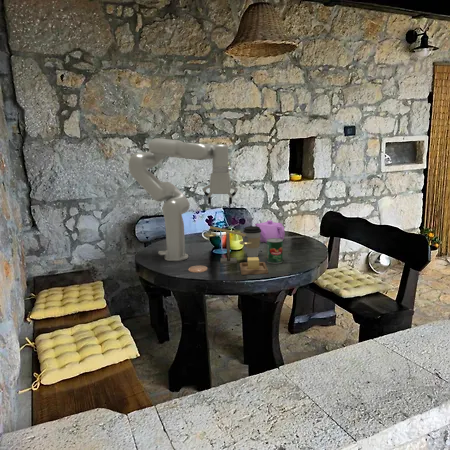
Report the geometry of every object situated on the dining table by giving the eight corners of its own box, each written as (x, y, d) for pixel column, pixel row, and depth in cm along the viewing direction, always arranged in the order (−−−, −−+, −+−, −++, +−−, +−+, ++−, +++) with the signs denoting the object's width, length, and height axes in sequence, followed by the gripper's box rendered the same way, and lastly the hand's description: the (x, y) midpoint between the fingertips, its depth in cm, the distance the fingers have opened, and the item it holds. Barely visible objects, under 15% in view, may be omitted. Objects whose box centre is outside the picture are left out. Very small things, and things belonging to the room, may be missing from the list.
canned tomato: (274, 264, 196) (274, 242, 194) (263, 261, 202) (263, 239, 200) (286, 261, 201) (286, 240, 198) (275, 258, 207) (275, 237, 205)
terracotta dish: (187, 272, 187) (187, 271, 187) (188, 267, 196) (188, 265, 196) (207, 272, 188) (207, 270, 187) (207, 266, 196) (207, 265, 196)
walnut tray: (241, 274, 182) (241, 270, 182) (239, 266, 194) (239, 262, 194) (267, 273, 183) (267, 269, 182) (264, 265, 195) (264, 261, 194)
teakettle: (285, 243, 236) (285, 222, 234) (256, 244, 237) (256, 223, 234) (282, 237, 253) (282, 217, 251) (255, 237, 253) (254, 218, 251)
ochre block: (247, 267, 191) (247, 257, 190) (258, 267, 191) (258, 257, 190) (248, 270, 186) (248, 260, 185) (259, 270, 186) (259, 260, 185)
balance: (205, 264, 200) (203, 227, 196) (205, 260, 206) (204, 225, 202) (252, 262, 200) (251, 226, 197) (251, 259, 206) (250, 223, 203)
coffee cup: (260, 258, 208) (260, 229, 205) (242, 257, 209) (241, 229, 207) (262, 253, 217) (262, 225, 214) (245, 252, 219) (244, 225, 216)
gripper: (237, 170, 199) (237, 204, 203) (202, 169, 199) (202, 204, 202) (238, 171, 192) (237, 206, 195) (201, 170, 192) (202, 206, 195)
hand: (219, 205), depth 199 cm, fingers open, 9 cm apart
